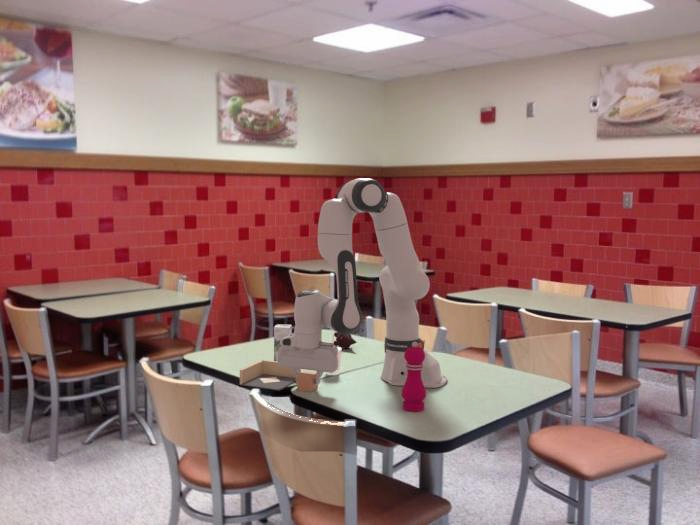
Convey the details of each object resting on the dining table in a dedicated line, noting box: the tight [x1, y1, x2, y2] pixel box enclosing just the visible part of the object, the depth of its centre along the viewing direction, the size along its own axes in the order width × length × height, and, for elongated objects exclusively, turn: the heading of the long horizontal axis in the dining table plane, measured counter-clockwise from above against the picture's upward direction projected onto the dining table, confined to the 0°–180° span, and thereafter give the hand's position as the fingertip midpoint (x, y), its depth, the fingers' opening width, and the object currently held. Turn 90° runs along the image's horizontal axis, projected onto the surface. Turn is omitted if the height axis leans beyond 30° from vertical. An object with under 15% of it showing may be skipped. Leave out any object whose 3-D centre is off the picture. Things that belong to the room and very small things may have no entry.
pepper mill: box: [401, 342, 427, 413], centre depth 187 cm, size 7×7×20 cm
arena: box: [239, 359, 302, 392], centre depth 213 cm, size 15×15×5 cm
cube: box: [296, 370, 319, 392], centre depth 206 cm, size 5×5×5 cm
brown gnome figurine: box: [333, 331, 358, 350], centre depth 262 cm, size 7×7×15 cm
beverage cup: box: [325, 333, 343, 376], centre depth 224 cm, size 6×6×14 cm
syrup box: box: [273, 323, 293, 362], centre depth 236 cm, size 6×6×14 cm
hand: (307, 382), depth 206 cm, fingers closed on cube, 5 cm apart
